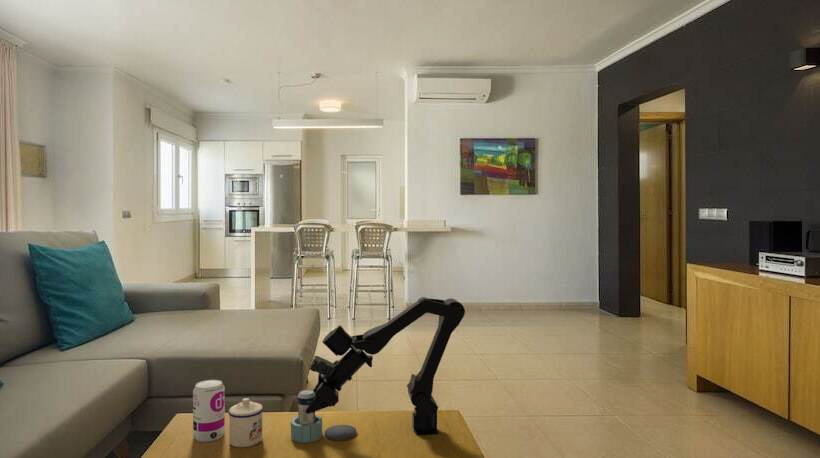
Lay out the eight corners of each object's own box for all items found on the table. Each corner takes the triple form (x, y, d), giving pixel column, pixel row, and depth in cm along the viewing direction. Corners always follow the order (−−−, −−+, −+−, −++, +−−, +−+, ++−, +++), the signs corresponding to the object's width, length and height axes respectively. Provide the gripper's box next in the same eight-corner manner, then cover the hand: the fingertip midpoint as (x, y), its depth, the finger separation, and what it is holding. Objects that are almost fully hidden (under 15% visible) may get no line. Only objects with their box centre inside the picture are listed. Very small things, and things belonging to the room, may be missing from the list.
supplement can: (231, 433, 145) (230, 381, 144) (208, 445, 137) (208, 390, 137) (209, 428, 148) (209, 377, 148) (186, 439, 141) (186, 386, 140)
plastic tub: (322, 428, 148) (322, 413, 148) (322, 441, 140) (322, 425, 140) (292, 430, 147) (292, 415, 147) (290, 444, 138) (290, 427, 138)
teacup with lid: (254, 449, 135) (254, 406, 135) (222, 447, 136) (222, 404, 136) (272, 430, 147) (272, 390, 147) (242, 428, 148) (242, 389, 148)
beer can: (318, 434, 144) (318, 391, 143) (304, 439, 140) (304, 396, 140) (308, 429, 147) (308, 387, 146) (294, 434, 143) (294, 392, 143)
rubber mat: (355, 426, 150) (355, 423, 150) (357, 439, 141) (357, 436, 141) (324, 428, 149) (324, 425, 149) (324, 442, 140) (324, 439, 140)
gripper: (328, 339, 153) (290, 376, 152) (326, 356, 134) (283, 398, 133) (354, 364, 154) (316, 401, 153) (355, 384, 136) (313, 427, 134)
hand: (307, 406), depth 143 cm, fingers open, 9 cm apart
